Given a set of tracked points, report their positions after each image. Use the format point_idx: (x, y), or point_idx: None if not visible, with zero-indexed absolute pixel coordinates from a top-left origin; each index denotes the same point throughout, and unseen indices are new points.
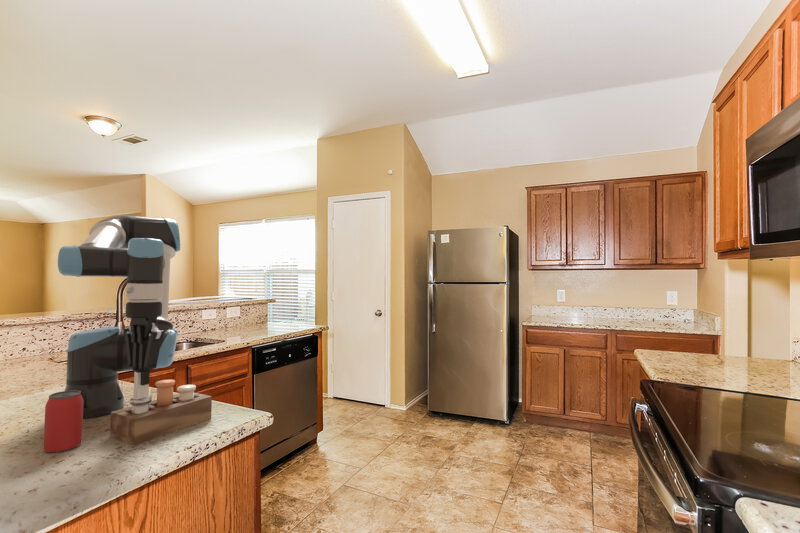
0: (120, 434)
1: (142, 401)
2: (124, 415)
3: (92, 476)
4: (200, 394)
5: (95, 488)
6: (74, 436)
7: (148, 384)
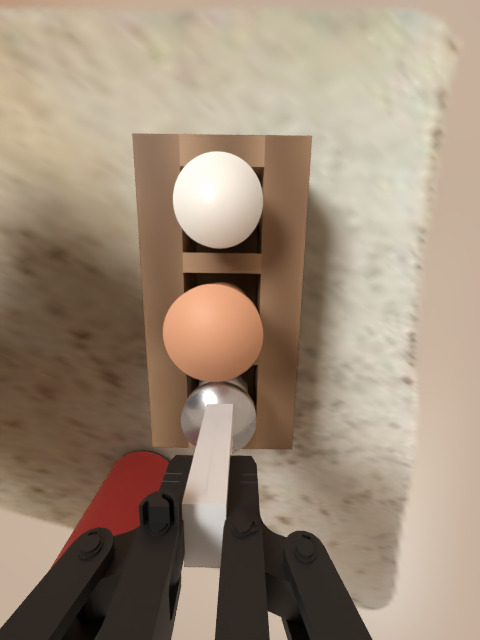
0: None
1: (253, 433)
2: None
3: (346, 511)
4: (237, 142)
5: (395, 528)
6: None
7: (230, 440)
